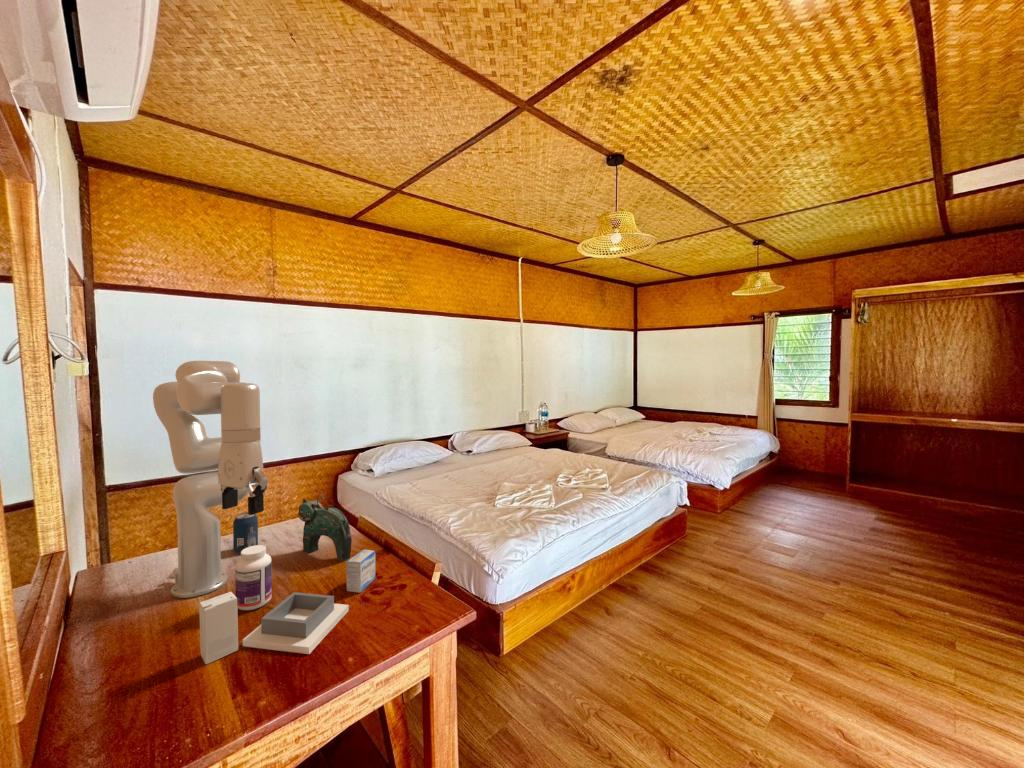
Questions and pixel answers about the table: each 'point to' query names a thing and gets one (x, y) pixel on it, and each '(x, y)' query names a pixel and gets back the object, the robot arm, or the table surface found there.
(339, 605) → the socket stand
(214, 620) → the skincare box
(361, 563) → the medicine box
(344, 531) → the spotted teal figurine
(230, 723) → the table surface
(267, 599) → the pill bottle
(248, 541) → the soda can
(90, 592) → the table surface
